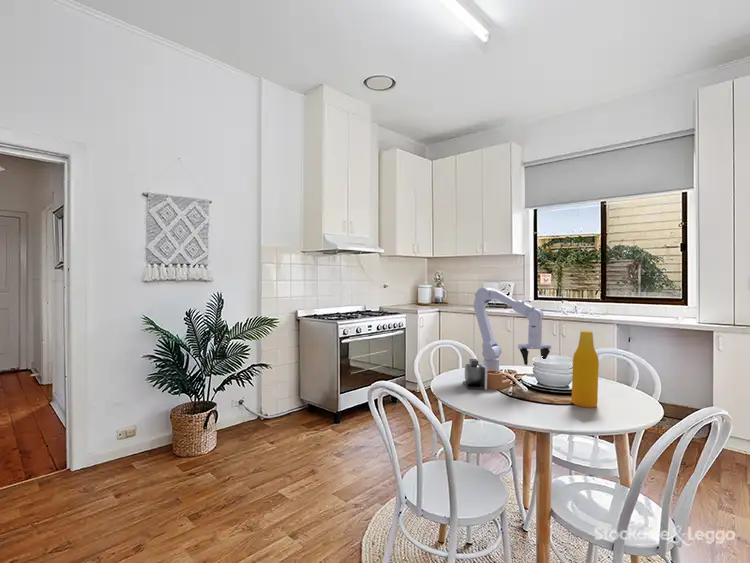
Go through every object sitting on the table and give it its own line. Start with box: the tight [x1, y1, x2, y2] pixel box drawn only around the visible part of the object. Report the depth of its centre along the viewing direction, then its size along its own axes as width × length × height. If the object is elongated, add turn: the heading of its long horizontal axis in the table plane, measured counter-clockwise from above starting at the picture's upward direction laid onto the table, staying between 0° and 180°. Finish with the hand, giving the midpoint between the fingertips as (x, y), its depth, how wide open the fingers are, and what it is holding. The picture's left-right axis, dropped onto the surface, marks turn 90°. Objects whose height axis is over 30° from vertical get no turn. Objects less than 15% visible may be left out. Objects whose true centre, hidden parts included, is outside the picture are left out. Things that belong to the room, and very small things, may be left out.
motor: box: [462, 358, 488, 391], centre depth 188 cm, size 12×8×12 cm, turn 1°
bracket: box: [487, 370, 516, 391], centre depth 190 cm, size 18×8×7 cm, turn 128°
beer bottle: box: [571, 330, 600, 409], centre depth 165 cm, size 9×9×29 cm
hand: (534, 364), depth 191 cm, fingers open, 7 cm apart
